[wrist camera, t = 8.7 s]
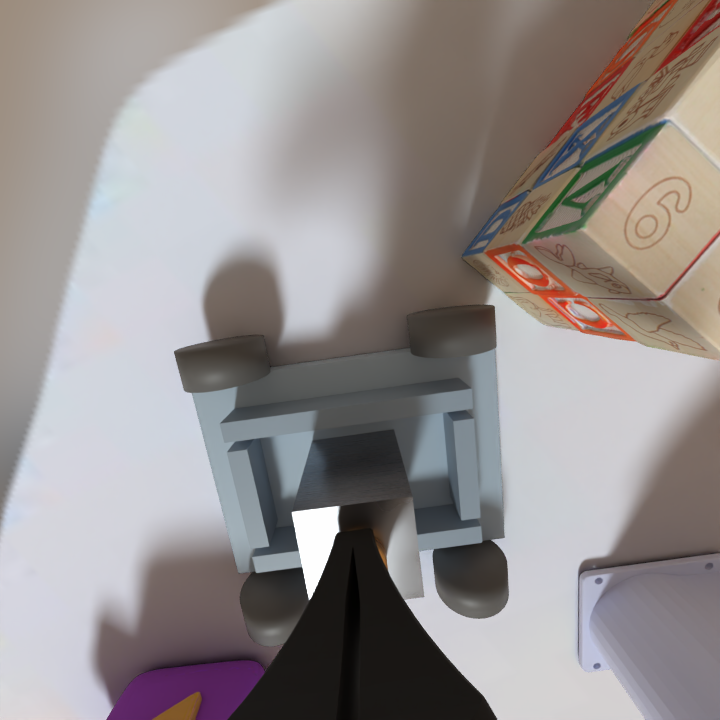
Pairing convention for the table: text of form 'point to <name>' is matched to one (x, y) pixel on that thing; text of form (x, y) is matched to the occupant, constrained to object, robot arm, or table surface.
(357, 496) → the metal block with knob
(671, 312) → the stack of blocks
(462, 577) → the chassis
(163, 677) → the toy camera
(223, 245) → the table surface
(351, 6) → the table surface
